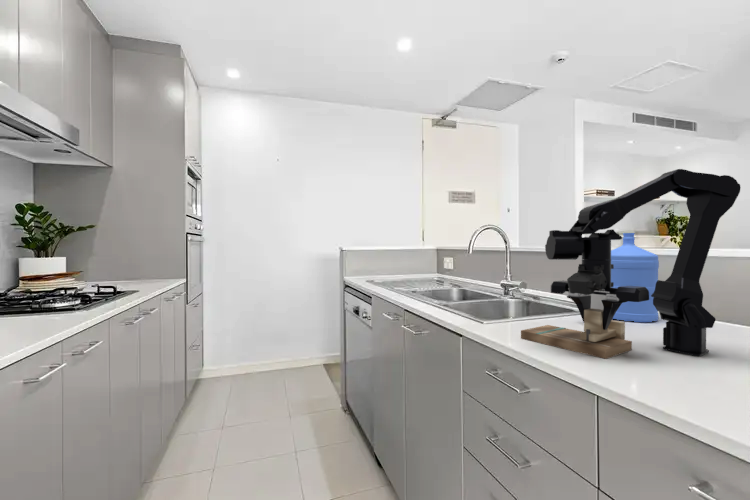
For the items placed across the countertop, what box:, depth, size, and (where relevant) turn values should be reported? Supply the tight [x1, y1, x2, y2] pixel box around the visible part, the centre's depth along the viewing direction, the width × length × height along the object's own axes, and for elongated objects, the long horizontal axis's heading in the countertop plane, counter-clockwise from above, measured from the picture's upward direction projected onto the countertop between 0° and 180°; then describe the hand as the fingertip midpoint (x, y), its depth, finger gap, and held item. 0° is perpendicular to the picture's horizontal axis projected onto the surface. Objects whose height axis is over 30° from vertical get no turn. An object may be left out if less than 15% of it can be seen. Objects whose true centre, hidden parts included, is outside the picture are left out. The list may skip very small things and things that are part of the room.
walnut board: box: [520, 324, 633, 360], centre depth 86 cm, size 20×12×2 cm, turn 33°
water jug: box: [611, 232, 660, 323], centre depth 117 cm, size 16×16×28 cm
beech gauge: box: [581, 308, 626, 342], centre depth 83 cm, size 5×12×8 cm, turn 123°
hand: (595, 327), depth 82 cm, fingers closed on beech gauge, 3 cm apart
